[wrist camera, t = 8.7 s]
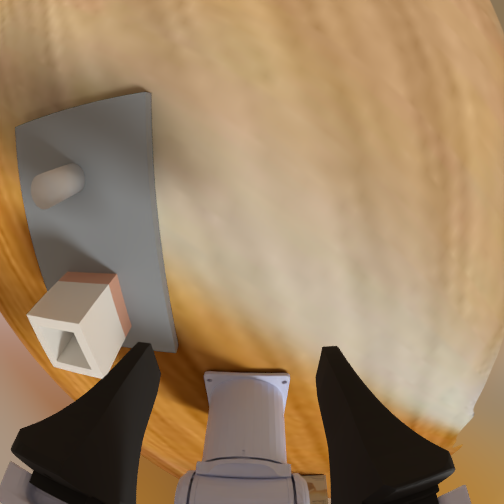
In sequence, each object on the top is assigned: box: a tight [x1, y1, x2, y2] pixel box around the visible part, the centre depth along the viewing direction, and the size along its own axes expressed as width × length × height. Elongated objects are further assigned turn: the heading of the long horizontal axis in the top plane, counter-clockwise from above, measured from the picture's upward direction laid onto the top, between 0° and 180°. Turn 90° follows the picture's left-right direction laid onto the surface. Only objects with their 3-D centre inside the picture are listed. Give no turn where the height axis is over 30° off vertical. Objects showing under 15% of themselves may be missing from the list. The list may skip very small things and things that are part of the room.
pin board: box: [15, 92, 178, 353], centre depth 17 cm, size 20×12×4 cm, turn 179°
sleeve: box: [26, 272, 132, 379], centre depth 18 cm, size 5×5×6 cm
